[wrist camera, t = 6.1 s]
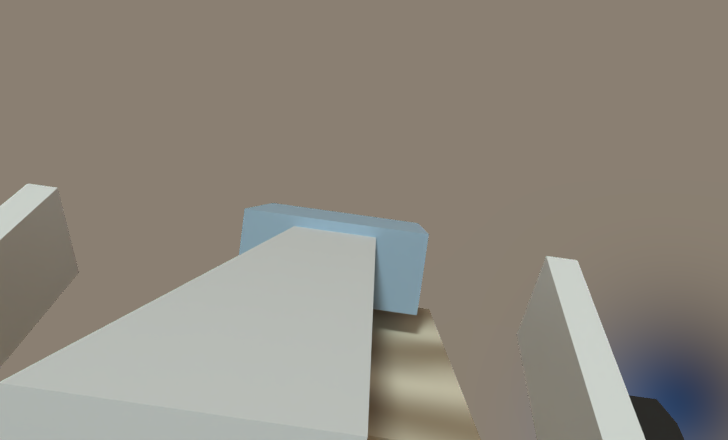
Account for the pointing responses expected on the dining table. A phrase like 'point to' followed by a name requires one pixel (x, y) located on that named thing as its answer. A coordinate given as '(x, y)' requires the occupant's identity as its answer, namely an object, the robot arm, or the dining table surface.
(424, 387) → the patterned tall box
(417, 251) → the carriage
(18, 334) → the robot arm
